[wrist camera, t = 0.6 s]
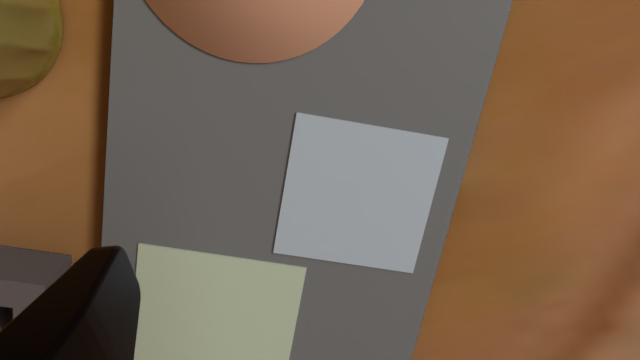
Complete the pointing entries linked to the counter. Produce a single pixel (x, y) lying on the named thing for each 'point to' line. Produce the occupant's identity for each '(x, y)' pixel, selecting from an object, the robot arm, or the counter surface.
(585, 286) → the counter surface
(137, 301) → the robot arm
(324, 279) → the picture board
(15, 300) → the button housing
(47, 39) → the vase
